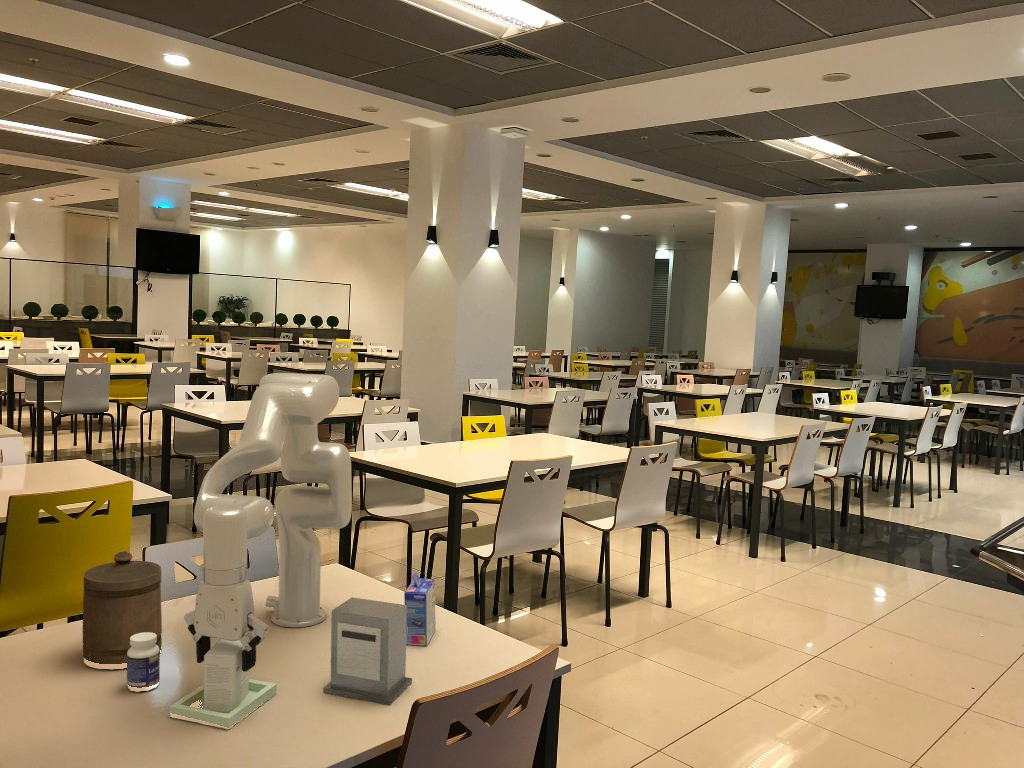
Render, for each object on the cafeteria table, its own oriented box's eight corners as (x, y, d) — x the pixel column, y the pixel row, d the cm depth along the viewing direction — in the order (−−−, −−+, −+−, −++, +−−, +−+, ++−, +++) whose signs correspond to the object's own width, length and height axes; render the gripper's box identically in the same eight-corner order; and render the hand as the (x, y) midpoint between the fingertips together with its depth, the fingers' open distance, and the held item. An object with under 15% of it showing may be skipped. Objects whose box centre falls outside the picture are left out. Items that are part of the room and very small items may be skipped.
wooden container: (167, 640, 180) (167, 541, 179) (153, 668, 166) (153, 562, 164) (94, 643, 177) (93, 543, 175) (73, 673, 163) (72, 564, 161)
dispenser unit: (323, 692, 158) (324, 611, 156) (348, 672, 167) (349, 595, 166) (389, 705, 154) (391, 621, 152) (411, 683, 163) (413, 604, 162)
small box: (219, 691, 156) (220, 637, 155) (249, 693, 155) (249, 638, 155) (202, 712, 148) (202, 655, 147) (233, 713, 147) (234, 656, 147)
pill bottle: (155, 692, 156) (155, 641, 155) (123, 694, 155) (122, 642, 154) (163, 679, 161) (162, 630, 160) (131, 680, 160) (131, 631, 160)
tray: (169, 717, 146) (169, 706, 146) (220, 684, 160) (220, 673, 160) (229, 730, 143) (229, 718, 143) (276, 694, 156) (276, 683, 156)
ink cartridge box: (412, 628, 192) (413, 567, 190) (435, 630, 191) (437, 569, 190) (402, 645, 182) (404, 581, 181) (427, 646, 181) (428, 582, 180)
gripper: (171, 574, 149) (172, 665, 150) (254, 586, 144) (254, 681, 145) (199, 561, 156) (199, 649, 157) (278, 573, 151) (278, 663, 152)
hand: (226, 664), depth 151 cm, fingers open, 9 cm apart
